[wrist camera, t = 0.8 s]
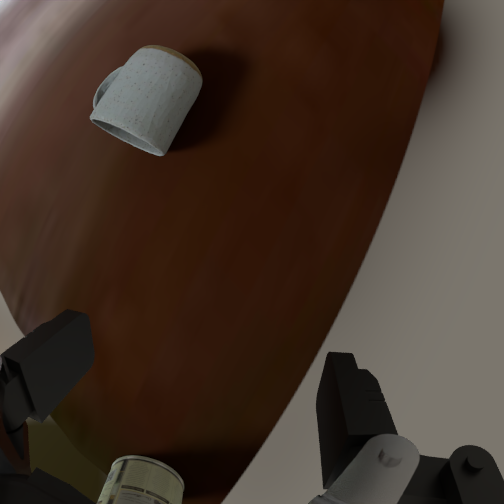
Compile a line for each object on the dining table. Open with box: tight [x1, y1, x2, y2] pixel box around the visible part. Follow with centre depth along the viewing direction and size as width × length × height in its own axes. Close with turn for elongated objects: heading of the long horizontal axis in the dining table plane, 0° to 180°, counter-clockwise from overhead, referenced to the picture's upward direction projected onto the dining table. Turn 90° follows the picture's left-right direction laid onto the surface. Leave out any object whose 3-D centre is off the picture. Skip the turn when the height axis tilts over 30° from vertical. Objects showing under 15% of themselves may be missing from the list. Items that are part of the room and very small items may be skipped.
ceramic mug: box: [90, 45, 203, 156], centre depth 24 cm, size 11×8×8 cm
